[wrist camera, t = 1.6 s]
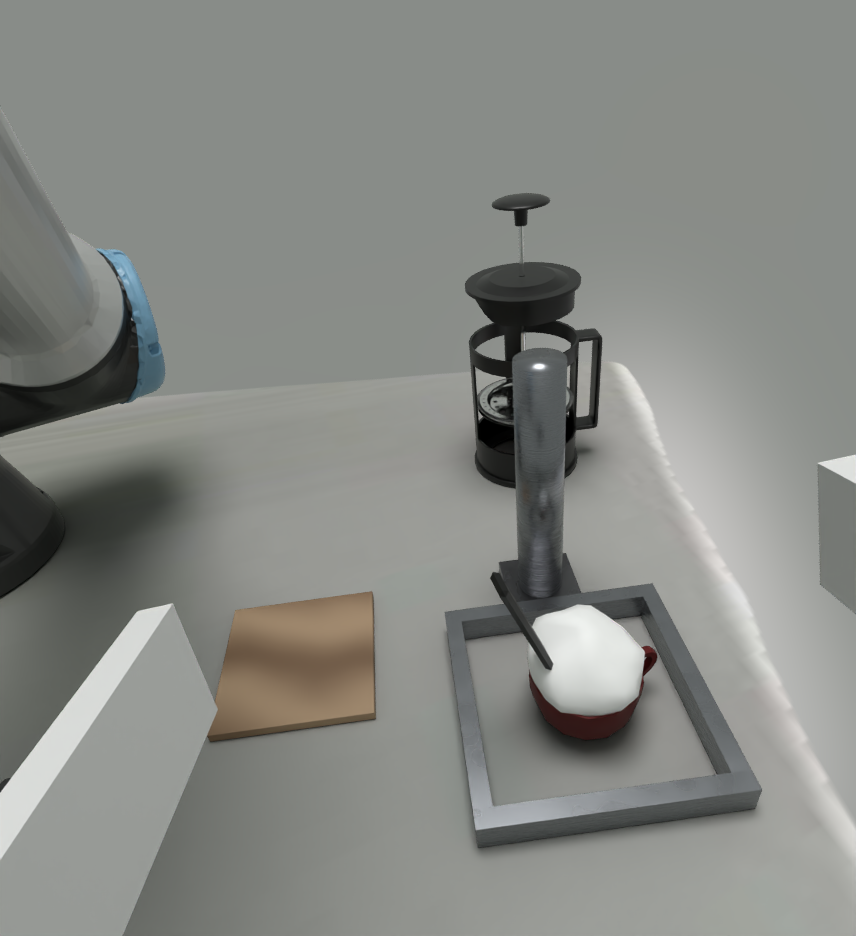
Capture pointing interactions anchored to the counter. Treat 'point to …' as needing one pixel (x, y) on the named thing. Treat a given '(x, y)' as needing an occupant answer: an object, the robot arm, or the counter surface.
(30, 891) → the robot arm
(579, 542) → the counter surface
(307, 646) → the walnut coaster
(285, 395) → the counter surface
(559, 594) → the ring stand
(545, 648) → the cocoa
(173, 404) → the counter surface
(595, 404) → the french press
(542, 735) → the counter surface
